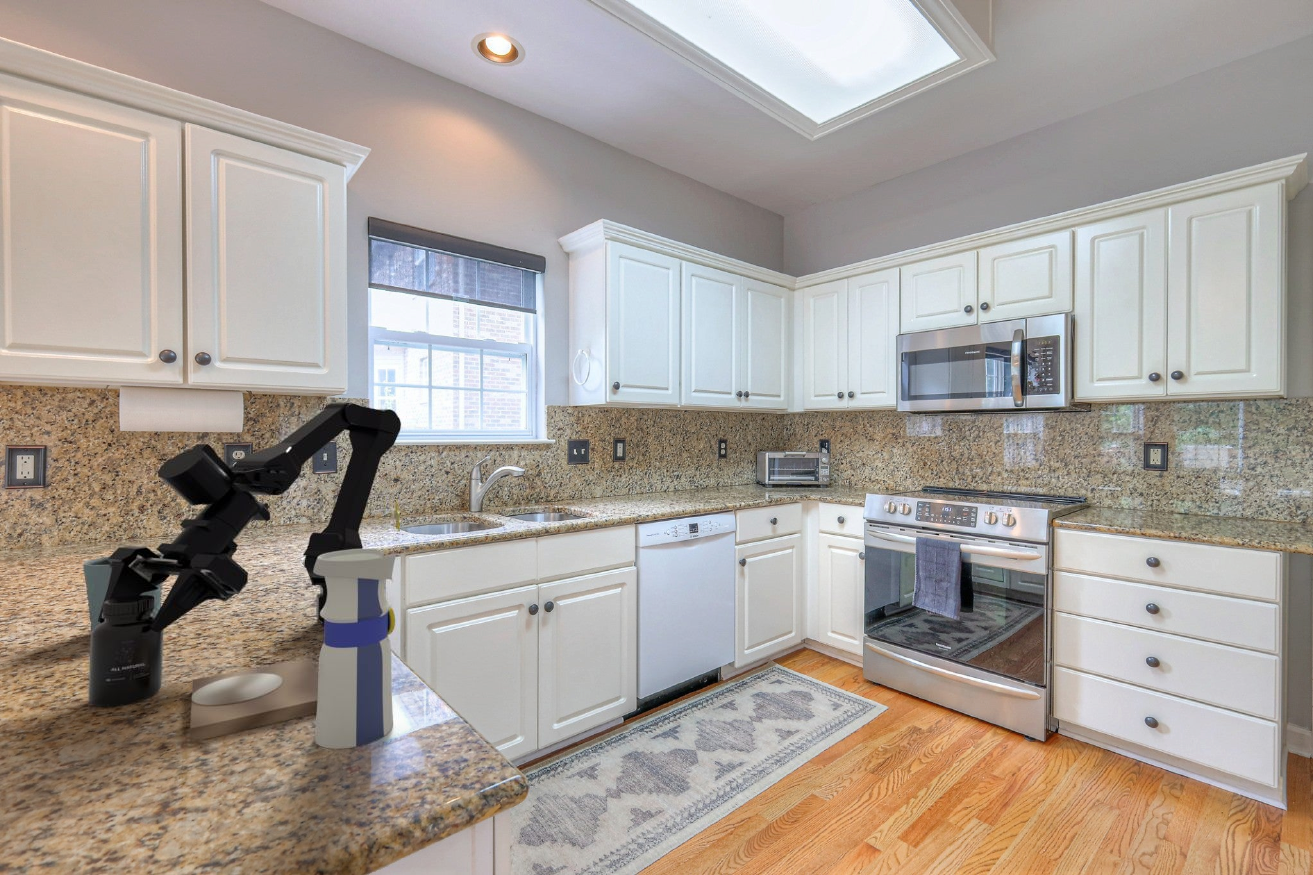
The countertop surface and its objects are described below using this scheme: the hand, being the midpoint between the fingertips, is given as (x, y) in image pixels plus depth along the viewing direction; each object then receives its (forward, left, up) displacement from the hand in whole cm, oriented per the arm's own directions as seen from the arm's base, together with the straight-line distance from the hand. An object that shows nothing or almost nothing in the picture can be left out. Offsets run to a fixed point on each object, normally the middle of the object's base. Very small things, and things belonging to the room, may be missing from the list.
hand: (127, 627), depth 74 cm
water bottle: (-21, +26, -9) cm, 35 cm away
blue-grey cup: (+3, -34, -9) cm, 35 cm away
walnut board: (-13, +11, -8) cm, 19 cm away
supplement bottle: (0, 0, -9) cm, 9 cm away
